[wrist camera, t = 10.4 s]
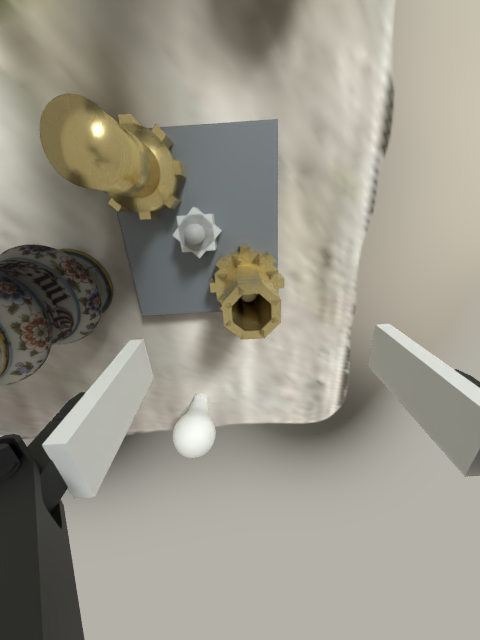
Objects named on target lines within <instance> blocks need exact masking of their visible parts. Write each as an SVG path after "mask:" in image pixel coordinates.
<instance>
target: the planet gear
mask: <svg viewBox="0 0 480 640" xmlns="http://www.w3.org/2000/svg"><path fill="white" fill-rule="evenodd" d="M239 246H240V251H232V252H231V253H230V254H229V256H228V257H226V256H225V255H224V254H222V255H221V256H220V258H219V259H218V260H217V262H216V264H215V265H216V266H217V267H218V269H217V270H216V272H215V278H212V279H211V281H210V291H211V293H214V292H216V294H217V300H218V301H219V302H220V303H221V304H220V309H221V310H222V312H223V322H224V326H225V327H226V328H227V329H228V330H230V331H231V332H232V333H234V334H235V335H236V336H238V337H239V338H240V339H241V340H243V339H259V338H265V337H266V336H267V335H268V334H269V333H270V332H271V331H272V330H273V329H274V328H275V327H276V326H277V325H279V324H280V323H281V299H280V297H279V295H278V288H284V278H283V276H282V275H281V274H280V273H278V270H277V268H276V267H275V266H274V265H273V264H274V263H275V262H276V261H277V260H276V259H275V258H274V257H273V256H272V255H270V254H269V253H268V252H267V251H266V252H265V253H264V254H263V255H262V254H261V253H260V252H259V251H258V250H250V245H249V244H247V245H239ZM246 294H257V296H256V298H255V299H254V300H253V301H250V302H246V301H244V300H242V299H241V298H240V297H241V296H242V295H246Z"/></svg>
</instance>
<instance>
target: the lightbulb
mask: <svg viewBox="0 0 480 640" xmlns="http://www.w3.org/2000/svg"><path fill="white" fill-rule="evenodd" d="M215 434H216V431H215V425H214V423H213V421H212V419H211V417H210V416H209V406H208V397H207V396H206V395H205V394H203V393H199V394H197V395H195V397H194V399H193V403H192V404H191V405H190V408H189V410H188V412H187V413H186V414H184V415H183V416H182V417H181V418H180V419H179V420H178V422H177V423H176V425H175V427H174V430H173V443H174V446H175V448H176V450H177V451H178V452H179V453H180V454H181V455H182V456H184V457H188V458H197V457H201V456H202V455H204V454H205V453H207V452H208V451H209V450H210V448H211V447H212V445H213V443H214V440H215Z"/></svg>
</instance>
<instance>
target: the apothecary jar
mask: <svg viewBox="0 0 480 640" xmlns="http://www.w3.org/2000/svg"><path fill="white" fill-rule="evenodd" d="M112 295H113V289H112V284H111V281H110V278H109V276H108V274H107V273H106V271H105V270H104V268H103V267H102V266H101V265H100V264H99V263H98V262H97V261H96V260H95V259H93V258H92V257H90V256H89V255H87V254H85V253H83V252H80V251H77V250H72V249H60V250H57V249H54V248H51V247H47V246H41V245H22V246H17V247H14V248H11V249H8V250H7V251H5V252H3V253H2V254H0V386H3V385H8V384H12V383H16V382H18V381H21V380H23V379H25V378H27V377H29V376H30V375H32V374H33V373H35V372H36V371H37V370H38V369H39V368H40V367H41V366H42V365H43V363H44V362H45V360H46V359H47V357H48V354H49V351H50V348H51V346H52V345H53V344H67V343H72V342H75V341H78V340H80V339H82V338H84V337H85V336H87V335H88V334H89V333H91V332H92V331H93V329H94V328H95V327H96V325H97V324H98V322H99V320H100V317H101V314H102V313H103V312H104V311H105V310H106V309H107V308H108V307H109V305H110V303H111V300H112Z"/></svg>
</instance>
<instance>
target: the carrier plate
mask: <svg viewBox="0 0 480 640" xmlns="http://www.w3.org/2000/svg"><path fill="white" fill-rule="evenodd" d="M147 129H149V130H150V131H152V129H153V128H147ZM160 129H161V130H162V131H163V132H164V133H165V134H166V135H167V136H168V137H169V138H170V140H171V141H172V142H173V144H172V146H171V148H170V149H169V150H170V151H171V152H172V154H173V156H174V157H175V160H176V161H180V162H181V163H182V164H183V165H184V166H185V171H186V179H180V186H179V191H178V194H177V197H178V198H179V199H180V200H181V202H180V204H179V205H178V207H177V208H176V209H171V208H169V207H167V208H166V209H164V210H162V211H159V212H158V217H159V219H149V220H140V217H139V212H136V211H131V210H130V212H118V211H117V214H118V218H119V222H120V226H121V230H122V234H123V238H124V242H125V247H126V251H127V255H128V259H129V263H130V267H131V271H132V275H133V279H134V283H135V287H136V291H137V295H138V299H139V303H140V308H141V312H142V316H152V315H168V314H184V313H199V312H215V311H222V310H221V309H220V304H221V303H220V302H219V301H218V300H217V294H216V292H214V293H211V291H210V281H211V279H212V278H215V272H216V270H217V269H218V267H217V266H216V265H215V264H216V262H217V260H218V259H219V258H220V256H221V255H222V254H224V255H225V256H226V257H228V256H229V254H230V253H231V252H232V251H240V246H239V245H247V244H249V245H250V250H258V251H259V252H260V253H261V254H262V255H263V254H264V253H265V252H266V251H267V252H268V253H269V254H270V255H272V256H273V257H274V258H275V259H276V260H277V261H276V262H275V263H274V264H273V265H274V266H275V267H276V268H277V270H278V119H273V120H259V121H245V122H231V123H217V124H202V125H188V126H174V127H160ZM256 296H257V294H246V295H242V296H241V297H240V298H241V299H242V300H244V301H246V302H250V301H253V300H254V299H255V298H256Z"/></svg>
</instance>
